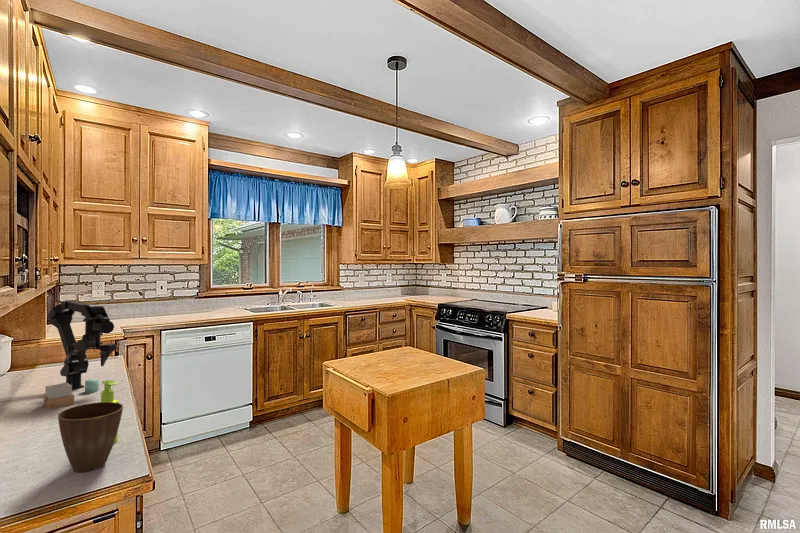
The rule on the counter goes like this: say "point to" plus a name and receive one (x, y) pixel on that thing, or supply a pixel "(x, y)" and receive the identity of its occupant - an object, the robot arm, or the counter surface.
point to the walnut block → (58, 401)
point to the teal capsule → (91, 385)
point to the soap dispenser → (108, 395)
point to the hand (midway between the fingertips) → (92, 366)
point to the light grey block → (58, 390)
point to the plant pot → (89, 433)
